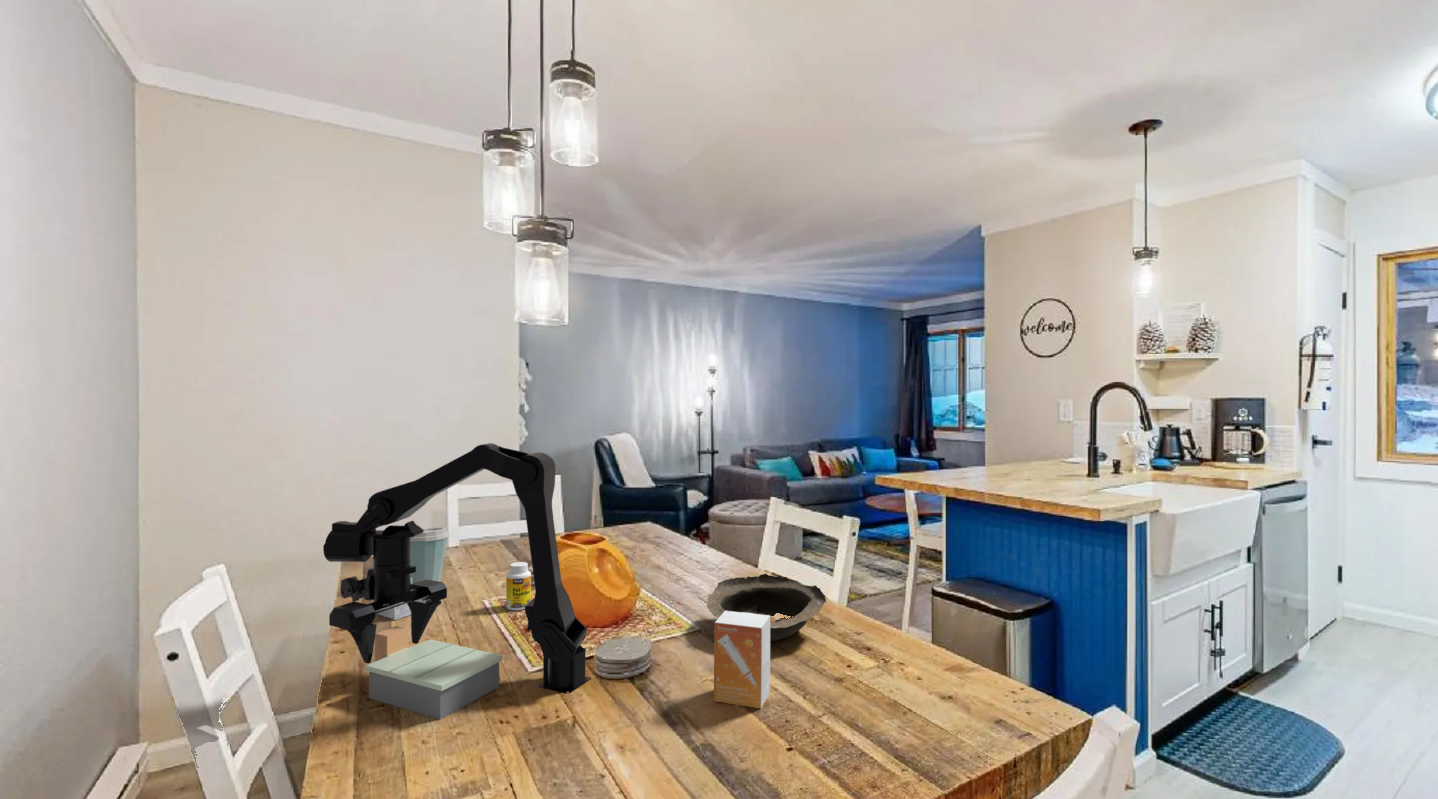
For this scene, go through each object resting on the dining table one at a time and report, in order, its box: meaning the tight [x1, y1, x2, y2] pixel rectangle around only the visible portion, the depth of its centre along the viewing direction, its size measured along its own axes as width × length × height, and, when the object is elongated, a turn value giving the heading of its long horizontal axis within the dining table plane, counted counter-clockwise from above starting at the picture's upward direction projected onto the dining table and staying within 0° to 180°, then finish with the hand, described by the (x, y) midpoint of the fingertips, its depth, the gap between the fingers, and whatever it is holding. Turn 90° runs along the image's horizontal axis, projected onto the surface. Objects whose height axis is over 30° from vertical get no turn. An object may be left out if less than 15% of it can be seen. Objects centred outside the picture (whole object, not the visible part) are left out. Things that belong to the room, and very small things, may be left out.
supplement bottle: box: [505, 561, 532, 611], centre depth 148 cm, size 6×6×10 cm
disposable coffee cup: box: [411, 526, 450, 584], centre depth 165 cm, size 11×11×15 cm
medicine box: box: [376, 578, 412, 621], centre depth 143 cm, size 8×4×9 cm, turn 58°
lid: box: [365, 625, 503, 691], centre depth 104 cm, size 20×12×6 cm, turn 65°
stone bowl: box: [706, 573, 827, 642], centre depth 133 cm, size 25×25×9 cm
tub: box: [368, 662, 500, 720], centre depth 104 cm, size 16×12×5 cm
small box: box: [713, 611, 771, 709], centre depth 103 cm, size 8×6×13 cm
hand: (392, 652), depth 108 cm, fingers open, 9 cm apart
